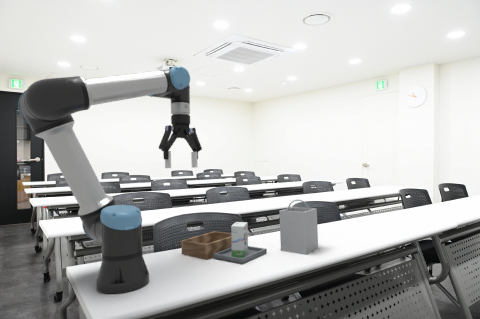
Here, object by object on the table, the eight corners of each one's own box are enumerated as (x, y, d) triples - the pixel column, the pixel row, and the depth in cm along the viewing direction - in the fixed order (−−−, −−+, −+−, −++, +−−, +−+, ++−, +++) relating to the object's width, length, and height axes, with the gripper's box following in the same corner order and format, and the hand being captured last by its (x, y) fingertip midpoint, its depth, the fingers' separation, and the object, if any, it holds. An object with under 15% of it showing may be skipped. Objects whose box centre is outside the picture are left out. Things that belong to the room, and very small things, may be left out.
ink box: (236, 251, 129) (235, 221, 129) (248, 251, 127) (247, 221, 128) (231, 257, 120) (230, 225, 120) (244, 257, 119) (243, 225, 119)
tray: (242, 264, 113) (242, 259, 113) (213, 258, 122) (213, 253, 122) (266, 253, 126) (266, 248, 126) (239, 248, 134) (238, 244, 134)
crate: (207, 259, 121) (206, 244, 121) (181, 254, 129) (181, 240, 129) (239, 247, 137) (239, 234, 137) (214, 243, 145) (214, 231, 145)
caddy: (306, 254, 123) (304, 212, 123) (280, 250, 130) (279, 210, 130) (318, 247, 132) (316, 208, 132) (293, 244, 139) (292, 207, 139)
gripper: (160, 109, 117) (162, 168, 117) (209, 116, 136) (210, 167, 136) (148, 112, 122) (149, 168, 121) (197, 118, 141) (198, 167, 141)
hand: (181, 167), depth 129 cm, fingers open, 13 cm apart
